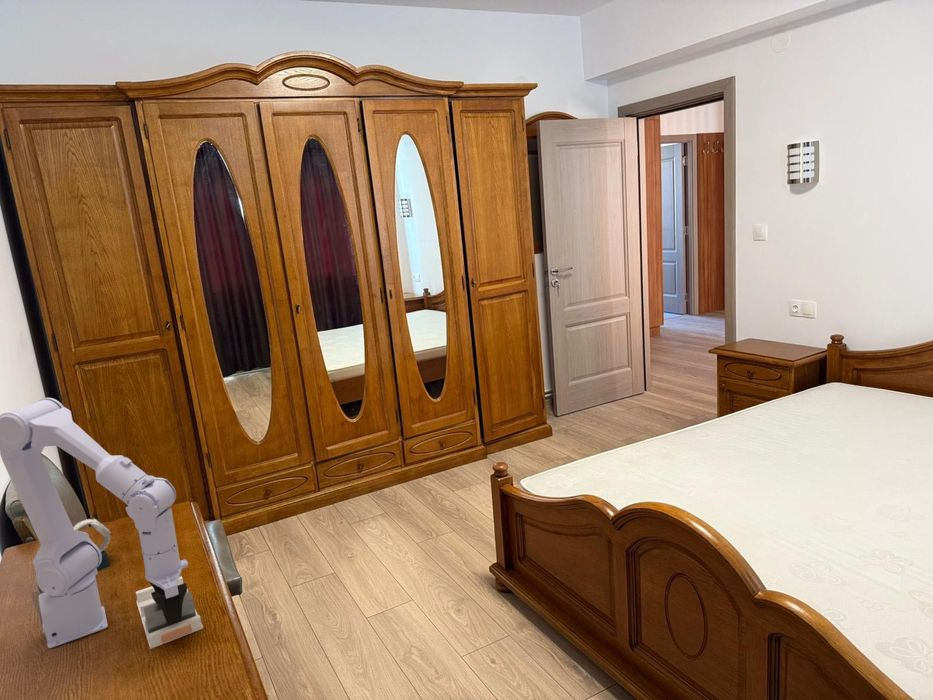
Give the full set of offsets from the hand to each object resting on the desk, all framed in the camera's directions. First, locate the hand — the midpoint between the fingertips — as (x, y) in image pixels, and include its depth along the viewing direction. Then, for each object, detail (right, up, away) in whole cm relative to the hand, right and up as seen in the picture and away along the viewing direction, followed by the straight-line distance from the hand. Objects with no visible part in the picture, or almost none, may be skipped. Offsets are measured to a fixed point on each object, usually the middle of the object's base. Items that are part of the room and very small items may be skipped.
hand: (171, 613), depth 114 cm
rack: (-3, -2, +5) cm, 6 cm away
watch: (-29, 0, +25) cm, 38 cm away
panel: (0, -3, 0) cm, 3 cm away
